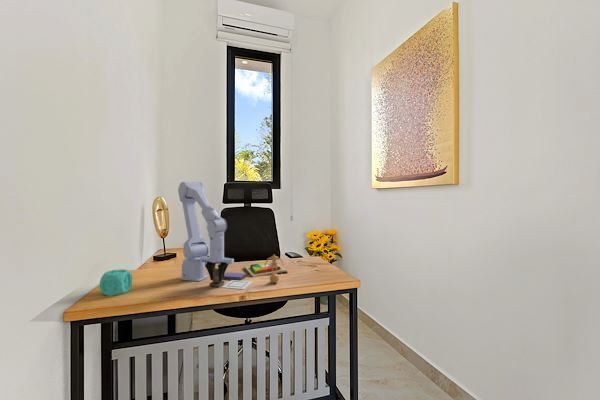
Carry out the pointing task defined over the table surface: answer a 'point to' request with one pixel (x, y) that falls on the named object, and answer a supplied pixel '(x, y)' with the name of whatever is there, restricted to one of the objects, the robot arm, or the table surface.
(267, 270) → the wooden puzzle
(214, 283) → the stamp
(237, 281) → the card sheet
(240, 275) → the ink pad
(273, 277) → the figurine
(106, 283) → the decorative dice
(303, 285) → the table surface
